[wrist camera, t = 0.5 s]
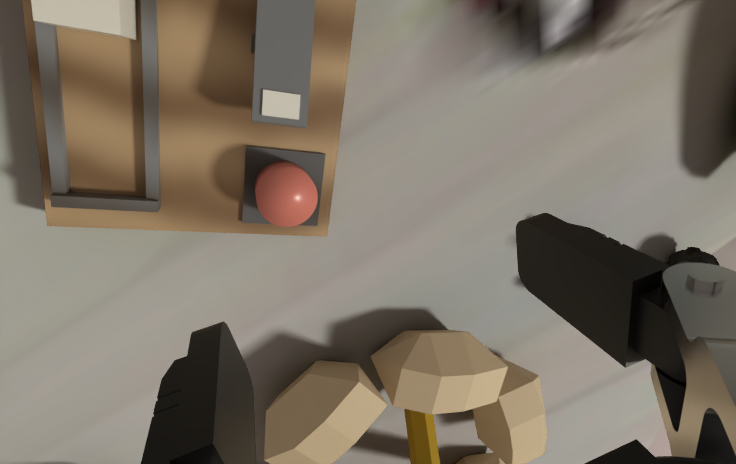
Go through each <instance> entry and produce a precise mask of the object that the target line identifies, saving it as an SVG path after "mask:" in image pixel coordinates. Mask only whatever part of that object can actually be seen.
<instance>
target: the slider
mask: <svg viewBox="0 0 736 464" xmlns="http://www.w3.org/2000/svg"><path fill="white" fill-rule="evenodd" d="M31 4H32V13H33V20H34V21H38V22H42V23H46V24H50V25H54V26H58V27H62V28H67V29H73V30H79V31H85V32H91V33H97V34H103V35H109V36H115V37H121V38H127V39H133V40H137V32H136V0H31Z"/></svg>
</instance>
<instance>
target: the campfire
mask: <svg viewBox="0 0 736 464" xmlns="http://www.w3.org/2000/svg"><path fill="white" fill-rule="evenodd" d="M370 357H371V359H372V362H373V364H374V366H375V368H376V370H377V372H378V375H379V377H380V379H381V381H382V383H383V385H384V388H385V390H386V392H387V394H388V396H389V398H390V401H391V403H392V405H393V406H394V407H399V408H404V410H405V418H406V426H407V434H408V443H409V451H410V459H411V464H440V459H439V452H438V445H437V439H436V432H435V425H434V418H433V414H442V413H452V412H463V411H467V410H470V409H473V414H474V419H475V424H476V429H477V434H478V438H479V439H480V440H481V441H482V442H483V443H484V444H485V445H486V446H487V447H488V448H490V449H491V450H492V451H493V452H494V453H486V454H476V455H469V456H466V457H463V458H462V459H461V460H460V461H459V462H457V463H456V464H503V462H504V463H505V464H525V463H527V462H529V461H531V460H533V459H535V458H537V457H539V456H541V455H543V454H544V452H545V446H546V439H547V429H546V418H545V410H544V404H543V398H542V393H541V387H540V382H539V375H537V374H535V373H532V372H530V371H528V370H526V369H524V368H522V367H520V366H518V365H516V364H513V363H511V362H509V361H507V360H505V359H503V358H501V357H499V356H497V355H494V354H493V353H492V352H491V351H490V350H489V349H487V348H486V347H485V346H484V345H483V344H482V343H481V342H479V341H478V340H477V339H476V338H475V337H474V336H473V335H471V334H470V333H469V332H464V331H455V330H410V331H403V332H401V333H400V334H398V335H397V336H396V337H394V338H393V339H392V340H391V341H389V342H388V343H387V344H386V345H384V346H383V347H382V348H381V349H379V350H378V351H377V352H375V353H374V354H373V355H372V356H370ZM387 405H388V404H387V403H386V401H385V400H384V399H383V397H382V396H381V395H380V393H379V392H378V390H377V389H376V388H375V386H374V385H373V384H372V382H371V381H370V379H369V378H368V377H367V375H366V374H365V373H364V371H363V370H362V368H361V367H360V366H359V364H357V363H345V362H334V361H322V360H321V361H316V362H315V363H313V364H312V365H311V366H310V367H309V368H308V369H307V370H306V371H304V372H303V373H302V374H301V375H300V376H299V377H298V378H297V379H296V380H294V381H293V382H292V383H291V384H290V385H289V386H288V387H287V388H285V389H284V390H283V391H282V392H281V393H280V394H279V395H278V396H277V397H276V399H275V400H274V401H273V403H272V404H271V405H270V407H269V408H268V409H267V411H266V422H265V448H264V461H266V462H268V463H270V464H332V463H333V462H335V461H336V460H337V459H338V458H339V457H340V456H341V455H343V454H344V453H345V452H346V451H347V450H348V449H349V448H351V447H352V446H353V445H354V444H355V443H356V442H357V441H358V440H359V438H360V437H361V436H362V435H363V434H364V433H365V431H366V430H367V429H368V428H369V427H370V425H371V424H372V423H373V422H374V421H375V420H376V418H377V417H378V416H379V415H380V414H381V413H382V411H383V410H384V409H385V408H386V407H387ZM502 461H503V462H502Z"/></svg>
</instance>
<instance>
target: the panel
mask: <svg viewBox="0 0 736 464" xmlns="http://www.w3.org/2000/svg"><path fill="white" fill-rule="evenodd" d="M22 5H23V14H24V23H25V31H26V40H27V49H28V58H29V67H30V76H31V85H32V94H33V103H34V112H35V121H36V130H37V139H38V148H39V157H40V166H41V175H42V184H43V193H44V202H45V211H46V220H47V226H64V227H90V228H117V229H143V230H169V231H195V232H222V233H248V234H274V235H301V236H327V233H328V225H329V217H330V209H331V200H332V192H333V184H334V176H335V168H336V160H337V152H338V144H339V136H340V128H341V120H342V112H343V103H344V95H345V87H346V79H347V71H348V63H349V55H350V47H351V39H352V31H353V23H354V15H355V6H356V0H315V13H314V29H313V44H312V60H311V75H310V90H309V106H308V121H307V127H306V128H305V129H301V128H292V127H284V126H276V125H268V124H259V123H251V113H252V92H253V71H254V49H255V28H256V7H257V0H136V32H137V40H133V39H127V38H121V37H115V36H109V35H103V34H97V33H91V32H85V31H79V30H73V29H67V28H62V27H58V26H54V25H50V24H46V23H42V22H38V21H34V20H33V13H32V4H31V0H22ZM277 161H290V162H294V163H296V164H298V165H299V166H301V167H302V168H303V169H304V170H305V171H306V172H307V174H308V175H309V177H310V178H311V180H312V181H313V183H314V184H315V186H316V189H317V194H318V201H317V205H316V208H315V210H314V212H313V214H312V215H311V216H310V217H309V218H308V219H307V220H306V221H305V222H303V223H301V224H299V225H296V226H292V227H281V226H277V225H274V224H272V223H270V222H269V221H267V220H266V219H265V218H264V217H263V216H262V214H261V213H260V211H259V209H258V206H257V202H256V195H255V182H256V179H257V176H258V175H259V173H260V172H261V170H262V169H263V168H264V167H266V166H267V165H269V164H271V163H273V162H277Z"/></svg>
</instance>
